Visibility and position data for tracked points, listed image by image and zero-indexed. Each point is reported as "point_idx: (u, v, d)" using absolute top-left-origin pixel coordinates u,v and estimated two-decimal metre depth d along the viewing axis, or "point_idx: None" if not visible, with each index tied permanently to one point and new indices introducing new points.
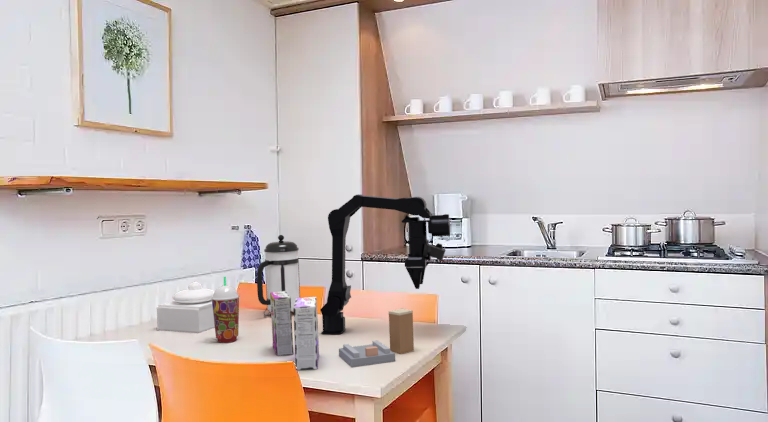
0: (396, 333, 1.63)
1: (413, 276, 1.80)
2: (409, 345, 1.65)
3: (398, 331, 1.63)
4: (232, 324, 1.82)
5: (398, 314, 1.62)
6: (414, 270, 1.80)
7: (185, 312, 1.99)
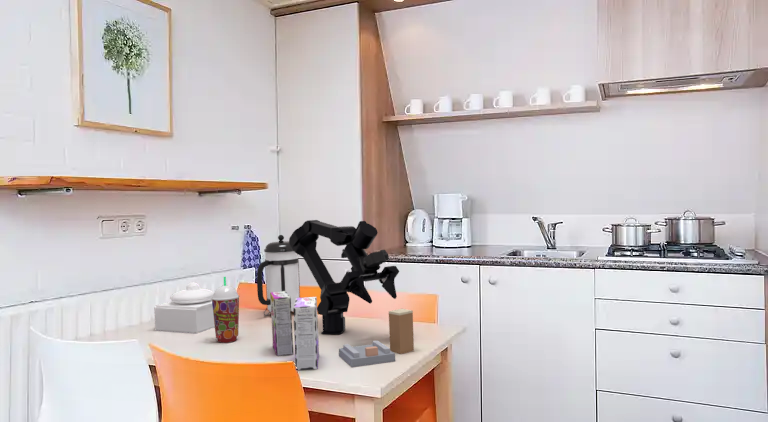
0: (396, 333, 1.63)
1: (360, 294, 1.70)
2: (409, 345, 1.65)
3: (398, 331, 1.63)
4: (232, 324, 1.82)
5: (398, 314, 1.62)
6: (357, 288, 1.71)
7: (183, 312, 1.98)
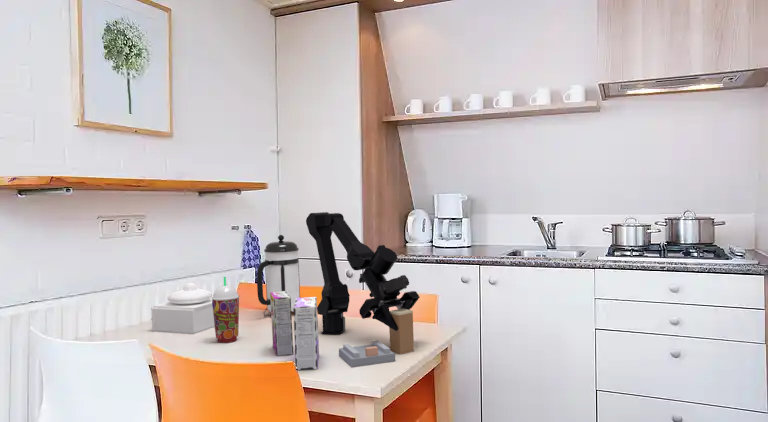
0: (396, 333, 1.63)
1: (385, 320, 1.65)
2: (409, 345, 1.65)
3: (398, 331, 1.63)
4: (232, 324, 1.82)
5: (398, 314, 1.62)
6: (383, 315, 1.65)
7: (180, 313, 1.97)
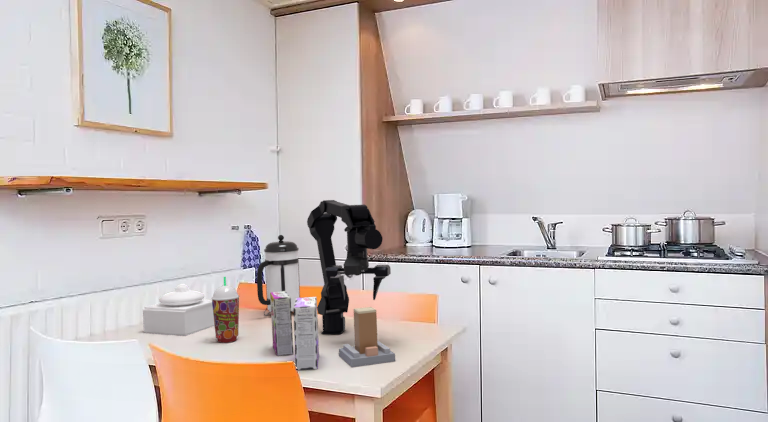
0: (357, 331, 1.58)
1: None
2: (371, 345, 1.58)
3: (358, 330, 1.57)
4: (232, 324, 1.82)
5: (358, 312, 1.56)
6: None
7: (171, 314, 1.95)
